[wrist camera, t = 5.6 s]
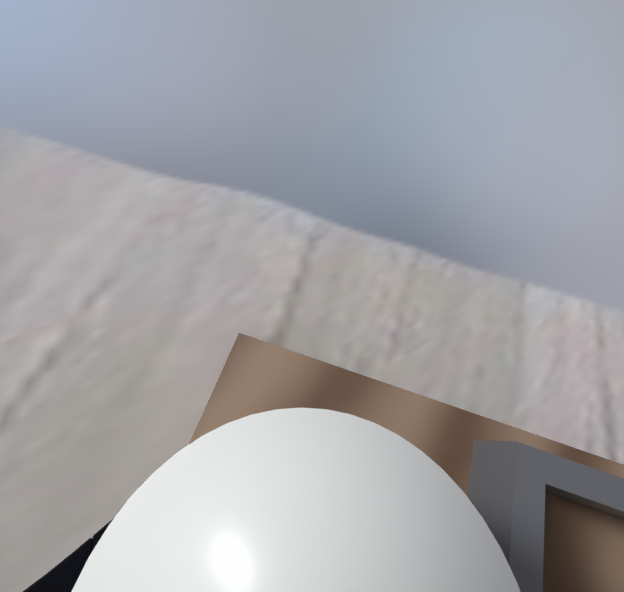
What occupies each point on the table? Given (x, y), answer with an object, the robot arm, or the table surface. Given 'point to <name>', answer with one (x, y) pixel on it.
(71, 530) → the table surface
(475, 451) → the socket collar
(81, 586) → the white capped cylinder
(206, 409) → the board
